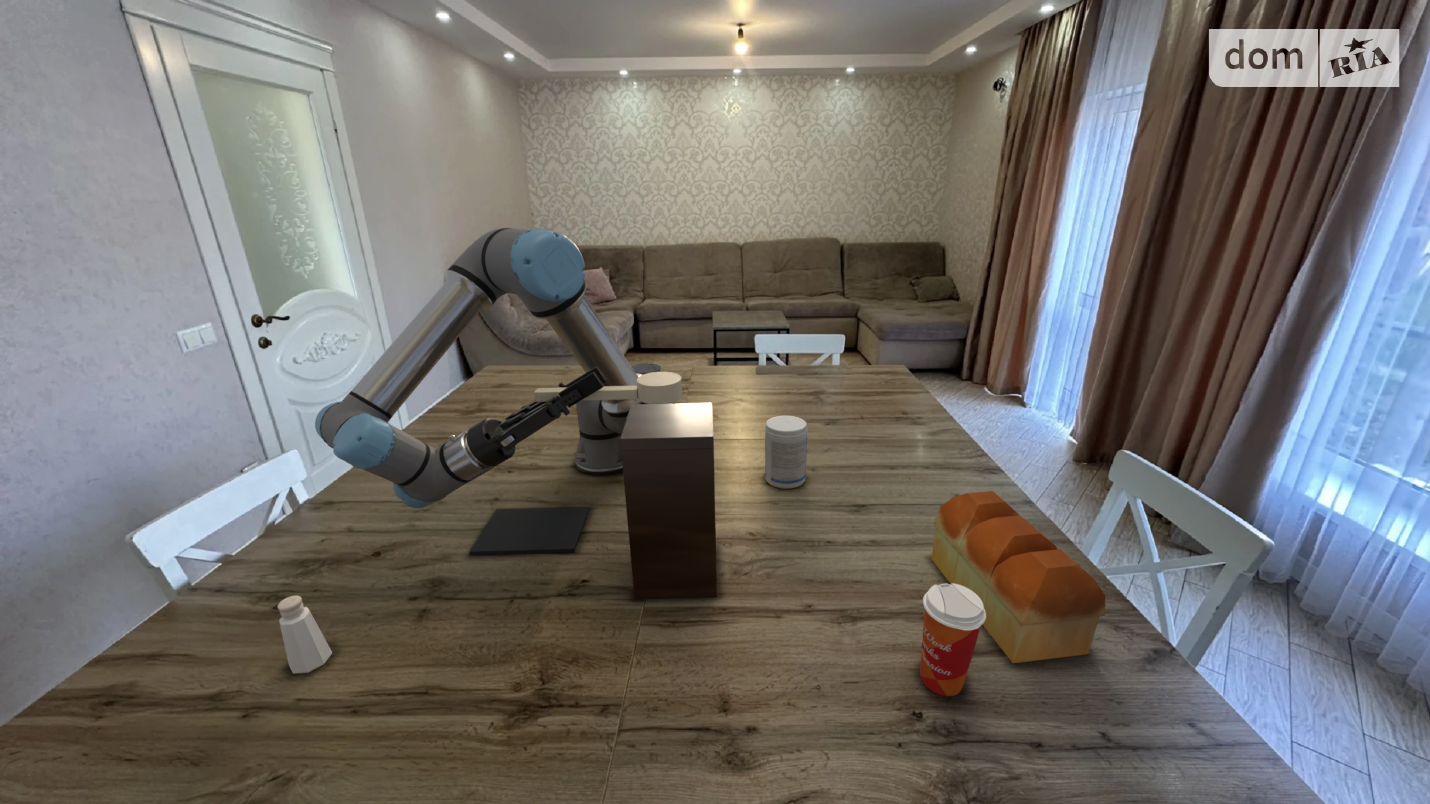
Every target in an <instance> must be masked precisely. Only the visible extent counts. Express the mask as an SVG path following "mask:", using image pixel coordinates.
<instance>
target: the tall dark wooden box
mask: <svg viewBox="0 0 1430 804" xmlns="http://www.w3.org/2000/svg"><path fill="white" fill-rule="evenodd" d="M714 438H715V437H714V415H713V402H679V403H675V402H673V404H633V405H631V407H630V410H629V413H628V416H627V419H626V423H625V426H624V429H623V432H622V435H621V438H620V444H621V455H622V466H623V471H622V475H623V477H622V478H623V488H624V495H625V496H624V499H625V509H626V511H625V512H626V520H627V530H628V531H627V533H628V543H629V554H630V555H629V556H630V565H631V577H632V586H633V599H634V600H652V599H685V598H687V599H688V598H689V599H690V598H691V599H692V598H716V597H718V583H717V581H718V580H717V579H718V577H717V576H718V575H717V534H716V533H717V531H716V529H717V528H716V491H715V490H716V487H715V484H716V483H715V482H716V481H715V442H714V441H715V440H714Z"/></svg>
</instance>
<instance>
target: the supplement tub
mask: <svg viewBox="0 0 1430 804" xmlns="http://www.w3.org/2000/svg"><path fill="white" fill-rule="evenodd" d="M807 453H808V425H807V421H806V420H805V419H803V418H801V417H797V416H793V415H776V416H773V417H770V418H769V419H767V420H766V421H765V427H764V478H765V481H766V482H767V483H768V484H769V485H771V486H773V487H774V488H775V487H776V488H778V489H784V490H785V489H786V490H787V489H794V488H798V487H800V486H802V485H803V484H804V483H806V478H807Z"/></svg>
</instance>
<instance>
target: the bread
mask: <svg viewBox="0 0 1430 804" xmlns="http://www.w3.org/2000/svg"><path fill="white" fill-rule="evenodd" d="M933 525H934V526H935V532H934V538H933V546H932V552H931V558H930V559H931V561H932V562H933V563H934V564H935V566H936V567H937V568H938V570H939V571H940V572H941V574H942V575H943V576H944V578H945V579H946V580H947V581H948V582H949V584H951V583H954V584H958V585H961V586H964V587H966V588H968V589H970V590H971V591H973V592H974V593H975V594H977V595H978V596H979V598H980V599H981V601H982V603H983V606H984V609H985V612H986V619H985V622H984V623H983V624H982V625H981V626H983V627H984V629H985V630H986V631H987V633H989V635H990V637H992V639H993V640H994V642H995V643H996V644H997V645H998V646H999V648H1000V649H1001V650H1002V651H1003V653H1004V654H1005V655H1006V657H1007V658H1008V659H1009V660H1010V662H1011V663H1012V664H1018V663H1027V662H1035V661H1043V660H1051V659H1059V658H1067V657H1068V658H1069V657H1075V656H1077V657H1078V656H1085V655H1089V653H1090V650H1091V647H1092V643H1093V640H1094V636H1095V633H1096V630H1097V627H1098V623H1099V619H1100V618H1102V617H1104V616H1106V594H1105V593H1104V591H1103V590H1102V588H1101V587H1100V585H1099V583H1098V582H1097V580H1096V579H1095V578H1094V577H1092V575H1090V574H1089V573H1088V572H1087V571H1086V570H1085V569H1084V568H1083V567H1082V566H1080V564H1078V563H1077V562H1076V561H1075V560H1073V559H1072V557H1070V556H1069V555H1068V554H1066V553H1065V552H1064V551H1063V550H1062V549H1061V548H1059V549H1058V547H1057V546H1056V544H1055V543H1054V542H1052V541H1051V540H1050V539H1049V538H1048V537H1046V535H1045V534H1043V533H1042V532H1041V531H1040V530H1039V529H1037V528H1036V527H1035V526H1034V525H1032V523H1030V522H1029V521H1028V520H1026V519H1025V518H1024V517H1023V516H1022V515H1020V513H1018V511H1016V510H1015V509H1014V508H1013V507H1012V506H1010V505H1009V504H1008V503H1007V501H1005V500H1004V499H1003V498H1002V497H1000V496H999V495H998V494H997V493H996V492H995V491H993V490H990V491H989V490H987V491H976V492H966V493H962V494H959V495H957V496H953V497H951V498H950V499H949V500H947V501H946V502H944V503H943V504H942V505H940V507H939V509H938V511H937V514H936V516H935V519H934V521H933Z"/></svg>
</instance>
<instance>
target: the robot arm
mask: <svg viewBox="0 0 1430 804" xmlns="http://www.w3.org/2000/svg"><path fill="white" fill-rule="evenodd" d="M462 252H463V253H461V254H460V255H459V256H458V258H456V259H455V261H453V263H452V264H451V266H449V268H448V269H447V270H446V271H445V272H444V276H445V282H444V283H443V284H442V285H441V286H440V288H439V289H438V290H437V291H436V292H435V293H434V294H433V295H432V296H431V298H430V299H429V300H428V301H427V302H426V304H425V305H424V306H423V307H422V308H421V310H419V312H418V313H417V314H416V315H415V316H414V317H413V319H412V320H411V321H410V322H408V324H407V325H406V327H405V328H404V329H403V330H402V331H401V332H400V334H399V335H397V337H396V338H395V339H394V340H393V341H392V343H391V344H390V345H389V347H388V348H387V349H385V351H384V352H383V354H381V355H380V357H379V358H378V359H377V360H376V362H374V363H373V365H372V366H371V367H370V368H369V369H368V371H367V372H365V374H364V375H363V376H362V377H361V379H360V380H359V381H358V382H357V383H356V384H355V385H354V386H353V388H352V389H351V390H350V391H349V393H347V394H346V396H345V397H344V398H343V399H342V400H341V401H334V402H332V403H329V404H327V405H326V406H323V407H322V408H321V410H319V412H318V413H317V415H316V417H315V420H314V428H315V431H316V434H317V435H318V436H319V437H320V438H321V439H322V440H323V442H324V443H325V444H326V445H327V446H328V447H329V448H331V449H332V450H333V451H332V452H333V455H334V456H336V458H338V459H339V460H342V461H344V462H345V463H347V464H349V465H351V466H352V467H353V468H356V469H361V470H362V471H365V472H367V473H370V474H373V475H375V476H377V477H379V478H382V479H384V480H387V481H389V482H391V483H392V488H393V492H394V494H395V496H396V497H397V499H399V500H402V501H403V504H404V505H405V506H407V507H410V508H412V509H424V508H426V507H428V506H430V505H433V504H435V503H437V502H439V501H442V500H444V498H446V497H447V496H449V495H450V494H452V493H453V492H455V491H456V490H458V489H460V488H461V487H464V486H465V485H467V484H468V483H470V482H472V481H474V480H475V479H477V478H479V477H481V476H483V475H484V474H486V473H488V472H489V471H491V470H493V469H494V468H495V467H497V466H499V465H501V464H502V463H504V462H506V461H508V460H509V459H511V458H513V456H514V455H515V453H516V446H517V445H518V444H520V442H523V441H524V440H525V439H527V438H529V437H530V436H532V435H533V434H535V433H536V432H538V431H540V430H541V429H543V428H544V427H546V426H548V425H549V424H551V423H552V422H554V421H556V420H557V419H559V418H561V416H562V413H563V414H564V416H565V417H567V416H569V414H570V413H571V411H570V410H569V409H568V408H571V407H573V406H574V405H575V409H576V416H577V425H578V431H579V438H578V442H577V447H576V451H575V452H574V462H575V468H577V470H579V471H580V472H581V473H583V474H587V475H593V476H607V475H614V474H618V473H621V472H623V466H622V455H621V444H620V438H621V435H622V432H623V429H624V426H625V423H626V419H627V416H628V413H629V410H630V407H631V405H633V404H648V403H644V402H641V401H640V400H639V399H638V398H637V399H621V400H584V401H581V400H583V399H584V398H586V397H588V396H589V395H591V394H593V393H594V392H596V391H598V390H599V389H601V388H603V387H604V386H637V378H638V377H639V376H641V375H642V374H638V373H635V372H634V370H633V369H632V366H631V364H630V362H629V361H628V359H627V358H626V356H625V354H624V353H623V352H622V350H621V349H620V347H619V345H618V344H617V342H616V341H615V339H614V338H613V336H612V334H611V333H610V332H609V330H608V328H607V327H606V326H605V324H604V322H603V321H602V320H601V318H600V316H599V314H598V313H597V311H596V310H595V308H594V307H593V305H592V304H591V302H590V301H589V299H588V298H587V296H586V295H585V294H586V291H587V286H588V284H587V281H586V279H585V278H586V273H585V272H584V269H585V268H586V265H585V264H586V263H585V259H584V257H583V255H582V253H581V251H580V249H579V247H578V246H577V245H576V243H575V242H573V240H571V239H570V238H569V237H567V236H566V235H564V234H562V233H560V232H556V231H553V230H549V229H545V228H532V229H528V228H527V229H525V228H512V227H499V228H495V229H492V230H490V231H487V232H485V233H484V234H483V235H481V236H479V237H478V238H477V239H476V240H475V241H473V242H472V243H471V244H470V245H469V246H468V247H467V248H466V249H465V250H464V251H462ZM506 294H513V295H516V296H517V297H518V298H519V299H520V301H521V302H522V303H523V304H524V306H525V308H527V310H528V311H529V313H530V314H531V315H532V316H533V317H534V318H536V319H542V320H546V321H547V323H548V324H549V326H550V327H551V328H552V329H553V331H554V333H555V334H556V335H557V337H559V339H560V340H561V341H562V343H563V344H564V346H565V347H566V348H567V349H568V351H569V352H570V354H571V355H572V356H573V357H574V359H575V360H576V362H577V363H578V364H579V366H580V367H581V369H582V370H583V371H584V373H583V374H581V375H579V376H578V377H577V378H575V379H574V380H572V381H570V382H568V383H566V384H564V382H562V381H560V382H559V383H558V385H557V388H564V387H567V388H566V389H564V390H563V391H561V392H559V395H560V398H559V397H558V396H556V397H553V399H551V400H549V401H547V402H535V400H534V401H531V402H530V403H528V404H525V405H522V407H520V409H519V410H518V411H516V412H511V413H510V414H508V415H507V416H506V417H505V418H504V420H503V421H500V420H498V419H497V418H494V417H485V418H483V419H482V420H480V421H479V422H477V423H475V424H474V425H472V426H470V427H469V428H468V429H466V430H464V431H463V432H462V433H460V434H458V435H457V436H455V435H454V434H451V435H449V436H448V441H446V442H445V443H442V444H441V445H439V446H438V447H432V446H431V445H429V444H427V443H425V442H424V441H421V440H419V439H418V438H416V437H414V436H412V435H410V434H409V433H407V432H406V431H403V430H402V429H399V428H398V427H397V426H394V425H393V424H391V423H389V422H390V421H391V419H392V418H393V416H394V415H395V414H396V413H397V412H398V411H399V409H400V408H401V407H402V405H403V404H405V402H406V401H407V400H408V398H409V397H410V396H411V395H412V394H413V392H414V391H415V390H416V389H417V388H418V386H419V385H420V384H421V383H422V382H423V380H425V378H426V377H427V376H428V374H429V373H430V372H431V371H432V370H433V368H434V367H435V366H436V365H437V364H438V362H440V360H441V359H442V358H443V356H444V355H445V354H446V353H447V352H448V350H449V349H450V348H451V347H452V345H453V344H454V343H455V342H456V341H457V339H458V338H459V337H460V336H461V335H462V334H463V332H464V331H465V330H466V329H467V328H468V326H469V325H470V324H471V322H473V320H474V319H475V318H476V317H477V315H478V314H479V313H480V312H481V311H482V310H483V309H489V308H491V307H492V306H493V305H494V304H495V303H496V302H497V300H499V299H500V297H502V296H504V295H506ZM673 403H674V402H671V403H667V404H673Z"/></svg>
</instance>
